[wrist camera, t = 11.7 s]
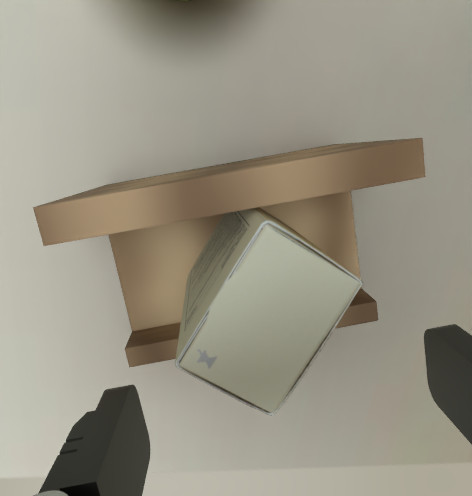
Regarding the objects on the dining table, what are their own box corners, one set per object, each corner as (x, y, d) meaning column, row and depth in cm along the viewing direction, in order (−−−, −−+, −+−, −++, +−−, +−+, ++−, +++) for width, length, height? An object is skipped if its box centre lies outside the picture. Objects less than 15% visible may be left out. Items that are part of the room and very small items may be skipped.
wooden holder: (333, 144, 28) (422, 137, 16) (351, 293, 30) (440, 380, 19) (106, 184, 28) (33, 207, 16) (142, 332, 30) (100, 446, 18)
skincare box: (243, 309, 28) (270, 428, 16) (184, 276, 27) (166, 374, 15) (298, 225, 27) (371, 282, 15) (239, 188, 26) (265, 217, 14)
